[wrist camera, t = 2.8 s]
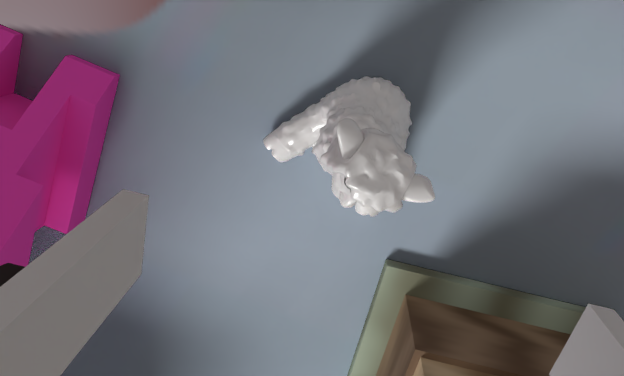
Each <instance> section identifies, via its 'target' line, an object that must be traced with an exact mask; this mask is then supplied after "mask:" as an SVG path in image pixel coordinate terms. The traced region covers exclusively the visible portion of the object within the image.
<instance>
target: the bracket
mask: <svg viewBox="0 0 624 376" xmlns="http://www.w3.org/2000/svg"><path fill="white" fill-rule="evenodd" d="M22 38H23V34H21V33H19V32H17V31H14V30H12V29H10V28H8V27H6V26H4V25H1V24H0V266H1V265H3V264H6V263H12V264H16V265H20V266H24V267H26V266H27V265H28V264H29V259H30V253H31V248H32V243H33V238H34V233H35V231H37V230H38V229H40V228H41V227H43V226H44V225H45V226H47V227H50V228H52V229H55V230H57V231H60V232H62V233H65V234H67V233H69V232H70V231H71V230H73V229H74V228H75V227H76V226H78V225H79V224H80V223H81V222H83V221H84V220H85V217H86V213H87V209H88V205H89V201H90V197H91V192H92V188H93V184H94V180H95V176H96V172H97V168H98V164H99V159H100V155H101V151H102V147H103V143H104V139H105V135H106V130H107V126H108V122H109V118H110V114H111V110H112V106H113V101H114V97H115V93H116V89H117V85H118V81H119V77H120V75H119V74H116V73H114V72H112V71H109V70H107V69H104V68H102V67H100V66H97V65H95V64H93V63H90V62H88V61H85V60H83V59H81V58H78V57H76V56H74V55H67V56H65V57H64V58H63V60H62V61H61V63H60V64H59V65H58V67H57V68H56V70H55V71H54V72H53V74H52V75H51V76H50V78H49V79H48V81H47V82H46V83H45V85H44V86H43V88H42V89H41V90H40V92H39V93H38V94H37V96H36V97H35V99H34V100H33V101H32V100H29V99H27V98H25V97H22V96H20V95H17V94H15V93H14V90H15V83H16V77H17V70H18V64H19V57H20V51H21V44H22Z"/></svg>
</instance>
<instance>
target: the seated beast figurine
mask: <svg viewBox="0 0 624 376" xmlns="http://www.w3.org/2000/svg"><path fill="white" fill-rule="evenodd" d="M410 107H411V103H410V102H409V101H408V100H407V99H405V94H404V93H403V92H402V91H401V89H400V87H399V86H394V85H393V84H392V83H391V81H389V80H384V79H383V78H382V77H378V78H375V77H374V78H370V77H368V76H365V77H363V78H361V79H359V80H355V79H351V80H350V81H349V82H348V83H344V84H342V85H341V86H339V87H336V90H335V91H333V92H331V93H328V94H326V97H323V98H321V100H320V102H319V103H317V104H312V105H310V106H309V107H308V108H306V110H305V111H304V112H301V113H300V114H297V115H295V116H293V117H292V118H291V120H290V121H287V122H283V123H282V124H281V125H280V126H279V127H278V128H277V129H275V130H274V131H273V132H271V133H270V134H268V135H267V136H266V137H265V138H264V139H263V142H264V145H265V146H266V148H267V149H272V155H273V156H274V157H275V158H276V159H277V160H278V161H279V162H285V161H288V160H290V159H291V158H294V157H296V156H301V155H303V154H304V151H305V149H308V148H310V147H313V149H312V152H313V154H316V156H317V159H318V162H319V163H320V164H321V166H322V168H323V170H324V171H326V172H329V174H331V175H332V186H331V187H332V191H333V193H334V195H335V196H336V197H337V198H339V200H340V202H341V205H342V206H343V207H346V208H348V207H349V208H350V207H352V206H353V205H355V210H356V212H357V213H359V214H361V215H367V214H370V216H371V217H374V216H376V215H377V214H378V213H379V212H381V211H383V210H386V211H389V212H393V213H395V212H396V211H397V210H400V209H401V208H402V207H403V204H402V201H401V200H404V201H410V202H417V203H422V202H430V201H433V200H434V199H435V195H434V191H433V188H432V184H431V181H430V180H429V179H428V178H427V177H426V176H423V175H421V174H414V173H415V170H416V166H417V165H416V163H415V162H414V161H413V158H412V156H411V155H409V154H407V153H406V152H404V151H405V149H406V142H407V138H408V136H409V135H410V133H409V131H408V129H409V126H410V125H412V122H411V119H410Z"/></svg>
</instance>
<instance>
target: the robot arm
mask: <svg viewBox="0 0 624 376" xmlns="http://www.w3.org/2000/svg"><path fill="white" fill-rule="evenodd" d="M148 199H149V195H145V194H141V193H137V192H132V191H128V190H124V189H123V190H122V191H120V192H119V193H118V194H117V195H115V196H114V197H113V198H112V199H110V200H109V201H108V202H107V203H105V204H104V205H103V206H101V207H100V208H99V209H98V210H96V211H95V212H94V213H93V214H91V215H90V216H89V217H88V218H86V219H85V220H84V221H83V222H81V223H80V224H79V225H78V226H76V227H75V228H74V229H73V230H71V231H70V232H69V233H67V234H66V235H65V236H64V237H62V238H61V239H60V240H59V241H57V242H56V243H55V244H54V245H52V246H51V247H50V248H49V249H47V250H46V251H45V252H44V253H42V254H41V255H40V256H38V257H37V258H36V259H35V260H33V261H32V262H31V263H30V264H28V265H27V266H26V267H24V266H20V265H16V264H12V263H6V264H3V265H1V266H0V376H60V375H61V374H62V373H63V372H64V370H65V369H66V368H67V367H68V365H69V364H70V363H71V362H72V360H73V359H74V358H75V357H76V355H77V354H78V353H79V352H80V350H81V349H82V348H83V347H84V345H85V344H86V343H87V342H88V340H89V339H90V338H91V337H92V335H93V334H94V333H95V332H96V330H97V329H98V328H99V327H100V325H101V324H102V323H103V322H104V320H105V319H106V318H107V317H108V315H109V314H110V313H111V312H112V310H113V309H114V308H115V306H116V305H117V304H118V303H119V301H120V300H121V299H122V298H123V296H124V295H125V294H126V293H127V291H128V290H129V289H130V288H131V286H132V285H133V284H134V283H135V281H136V280H137V279H138V278H139V276H140V275H141V273H142V262H143V252H144V241H145V231H146V220H147V210H148ZM549 375H550V376H624V321H623V320H622V319H621V317H620V316H619V315H618V314H617V313H616V311H615V310H613V309H609V308H605V307H601V306H597V305H593V304H589V303H588V305H587V307H586V309H585V310H584V312H583V314H582V316H581V318H580V319H579V321H578V323H577V325H576V326H575V328H574V330H573V332H572V334H571V335H570V337H569V339H568V341H567V343H566V344H565V346H564V348H563V350H562V352H561V353H560V355H559V357H558V359H557V360H556V362H555V364H554V366H553V368H552V369H551V371H550V373H549Z"/></svg>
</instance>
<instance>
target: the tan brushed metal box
mask: <svg viewBox="0 0 624 376" xmlns="http://www.w3.org/2000/svg"><path fill="white" fill-rule="evenodd" d="M585 309H586V307H582V306H578V305H574V304H570V303H566V302H562V301H558V300H554V299H549V298H545V297H541V296H537V295H533V294H529V293H525V292H520V291H516V290H512V289H508V288H504V287H500V286H496V285H492V284H487V283H483V282H479V281H475V280H471V279H467V278H463V277H459V276H454V275H450V274H446V273H442V272H438V271H434V270H430V269H426V268H421V267H417V266H413V265H409V264H405V263H401V262H397V261H393V260H388V259H386V261H385V264H384V267H383V270H382V273H381V276H380V279H379V282H378V285H377V288H376V291H375V294H374V297H373V300H372V303H371V306H370V309H369V312H368V315H367V318H366V321H365V324H364V327H363V330H362V333H361V336H360V339H359V342H358V345H357V348H356V351H355V354H354V357H353V360H352V363H351V366H350V369H349V372H348V375H347V376H550V375H549V373H550V371H551V369H552V368H553V366H554V364H555V362H556V360H557V359H558V357H559V355H560V353H561V352H562V350H563V348H564V346H565V344H566V343H567V341H568V339H569V337H570V335H571V334H572V332H573V330H574V328H575V326H576V325H577V323H578V321H579V319H580V318H581V316H582V314H583V312H584V310H585Z"/></svg>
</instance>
